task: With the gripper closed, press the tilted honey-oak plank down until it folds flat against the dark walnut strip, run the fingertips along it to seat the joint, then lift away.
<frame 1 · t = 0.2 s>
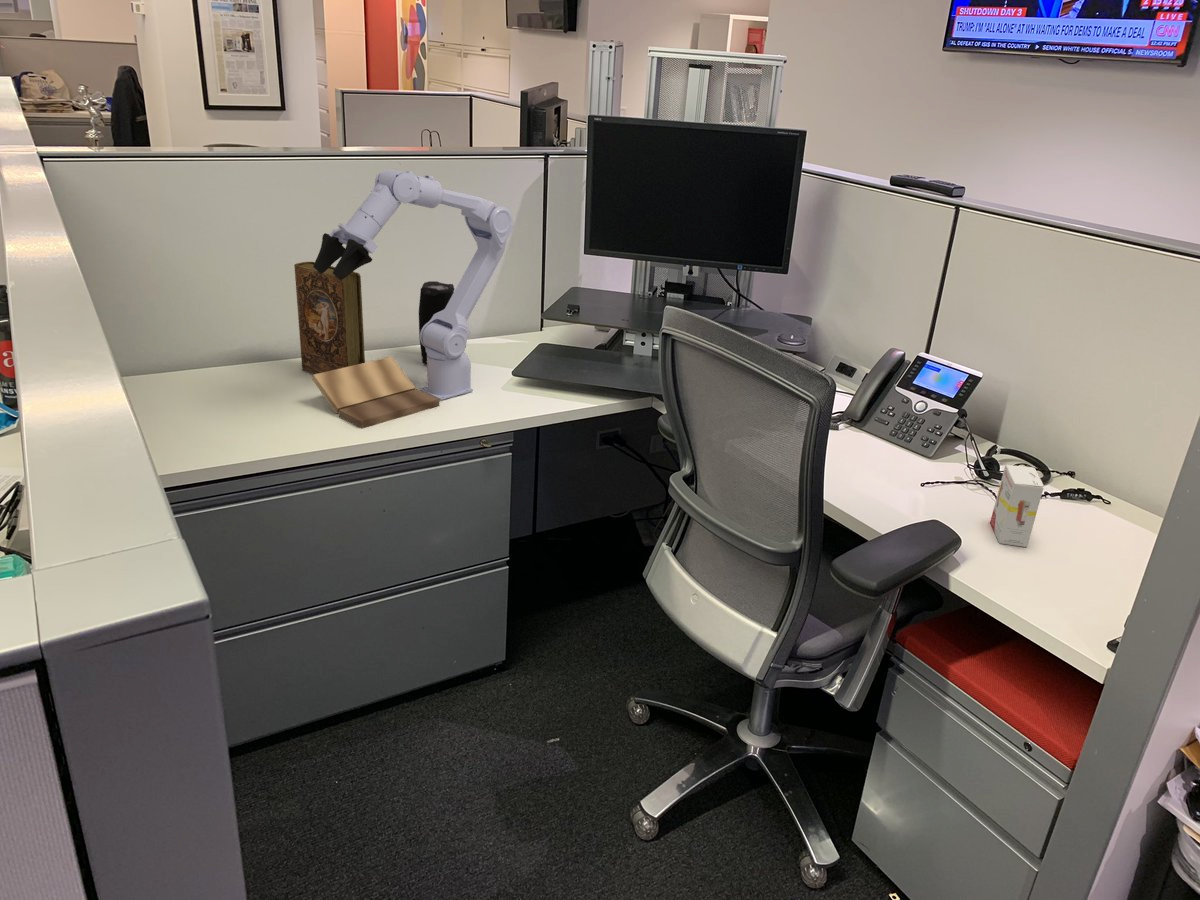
hand: (326, 273, 176), 31 cm above the table, tool tilted 45°, fingers open, 7 cm apart
ink box: (1007, 535, 161), on the table
oak plank: (365, 383, 198), point 4 cm above the table, hinge at 30.0°
portable speaker: (438, 363, 225), on the table
walnut strip: (390, 411, 194), on the table
book: (332, 375, 213), on the table
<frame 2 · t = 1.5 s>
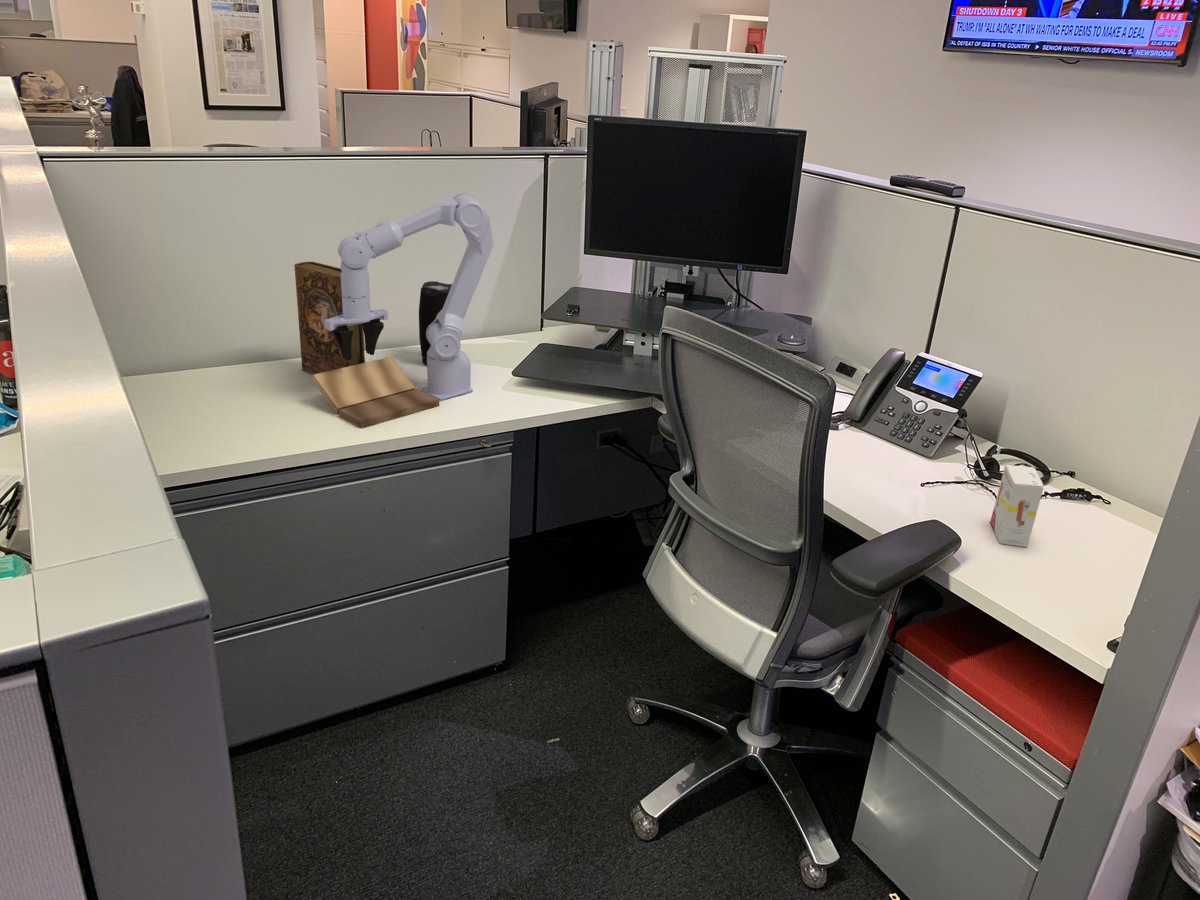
hand: (358, 356, 197), 9 cm above the table, tool pointing down, fingers open, 5 cm apart
nothing on the table moved.
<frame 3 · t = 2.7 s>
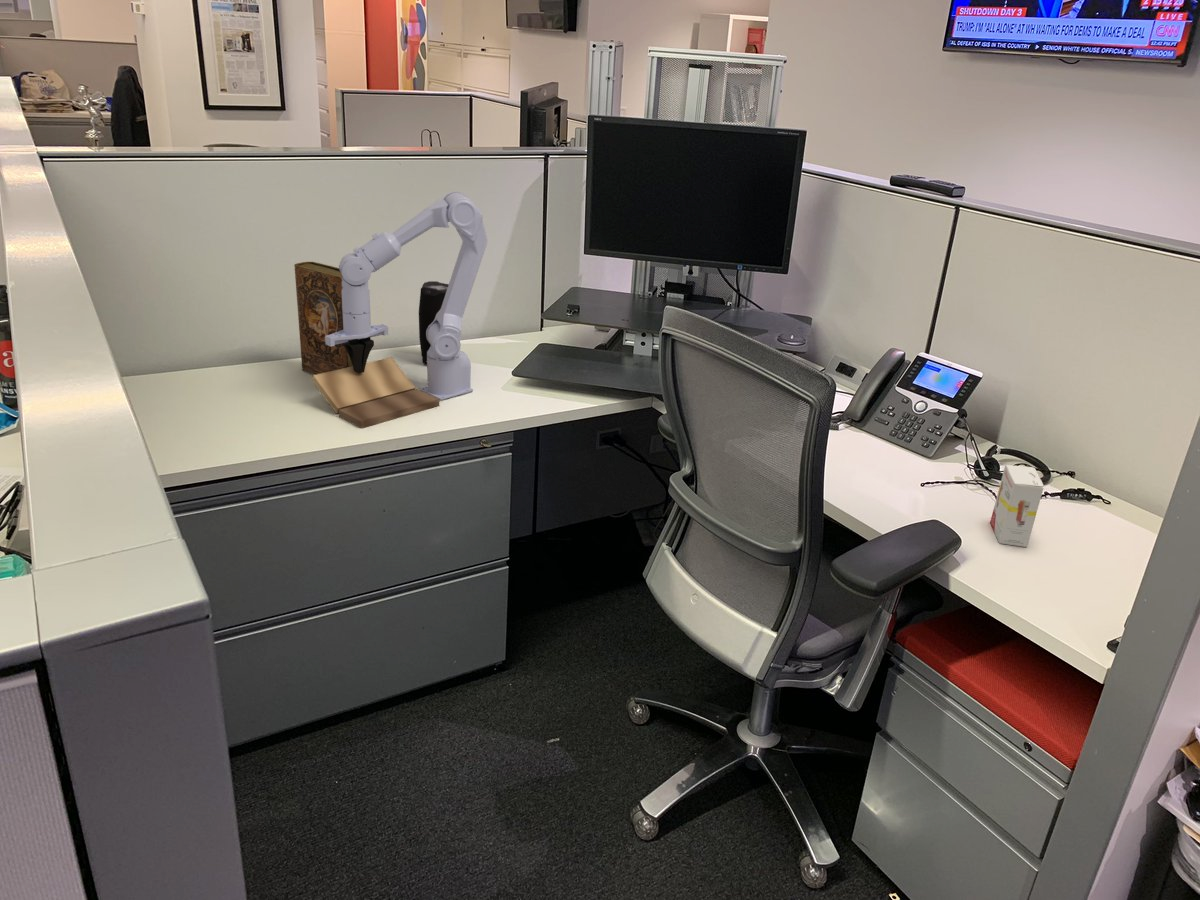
hand: (359, 371, 199), 6 cm above the table, tool pointing down, fingers closed, pressing on oak plank
oak plank: (365, 384, 198), point 4 cm above the table, hinge at 28.8°, touching gripper
everything else where it was.
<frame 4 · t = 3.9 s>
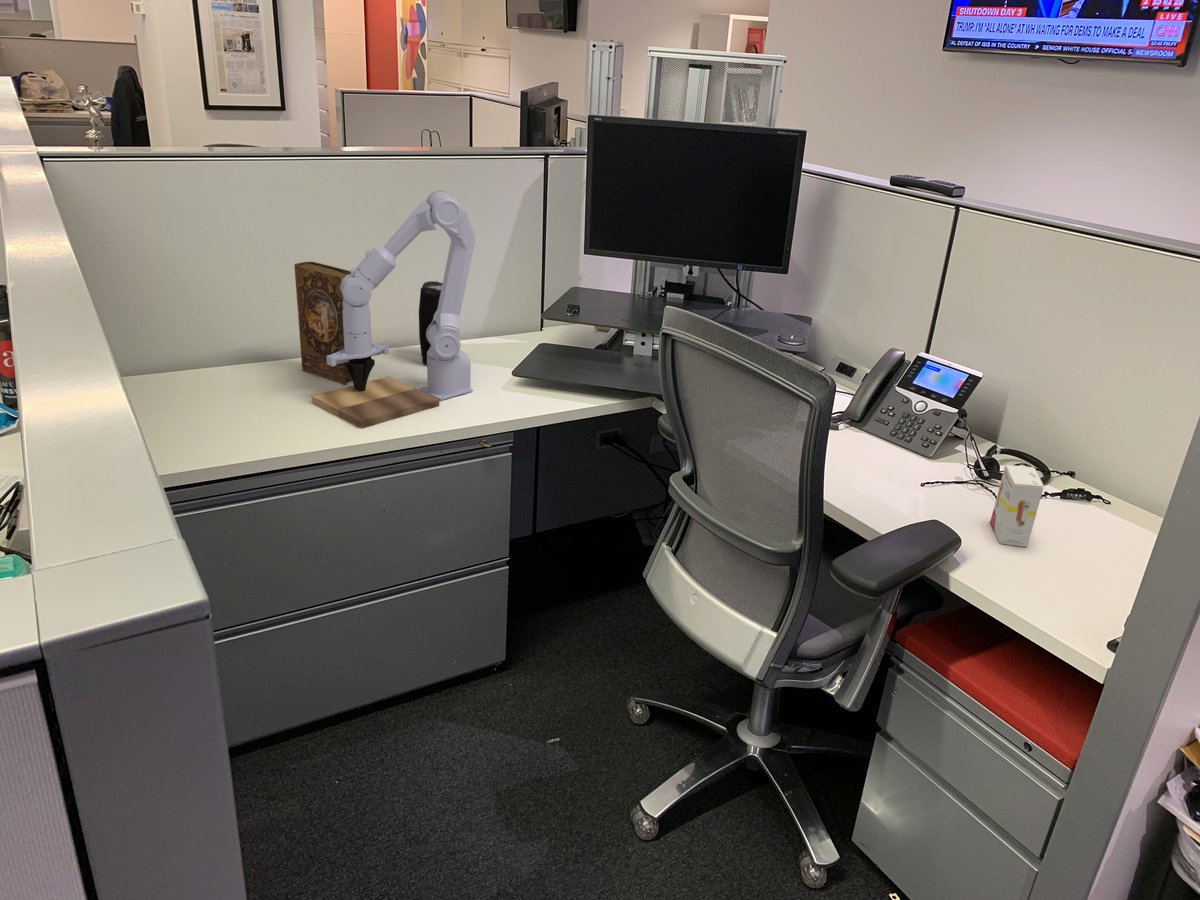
hand: (360, 390, 200), 2 cm above the table, tool pointing down, fingers closed, pressing on oak plank
oak plank: (364, 395, 200), point 1 cm above the table, hinge at 0.2°, touching gripper
everything else where it was.
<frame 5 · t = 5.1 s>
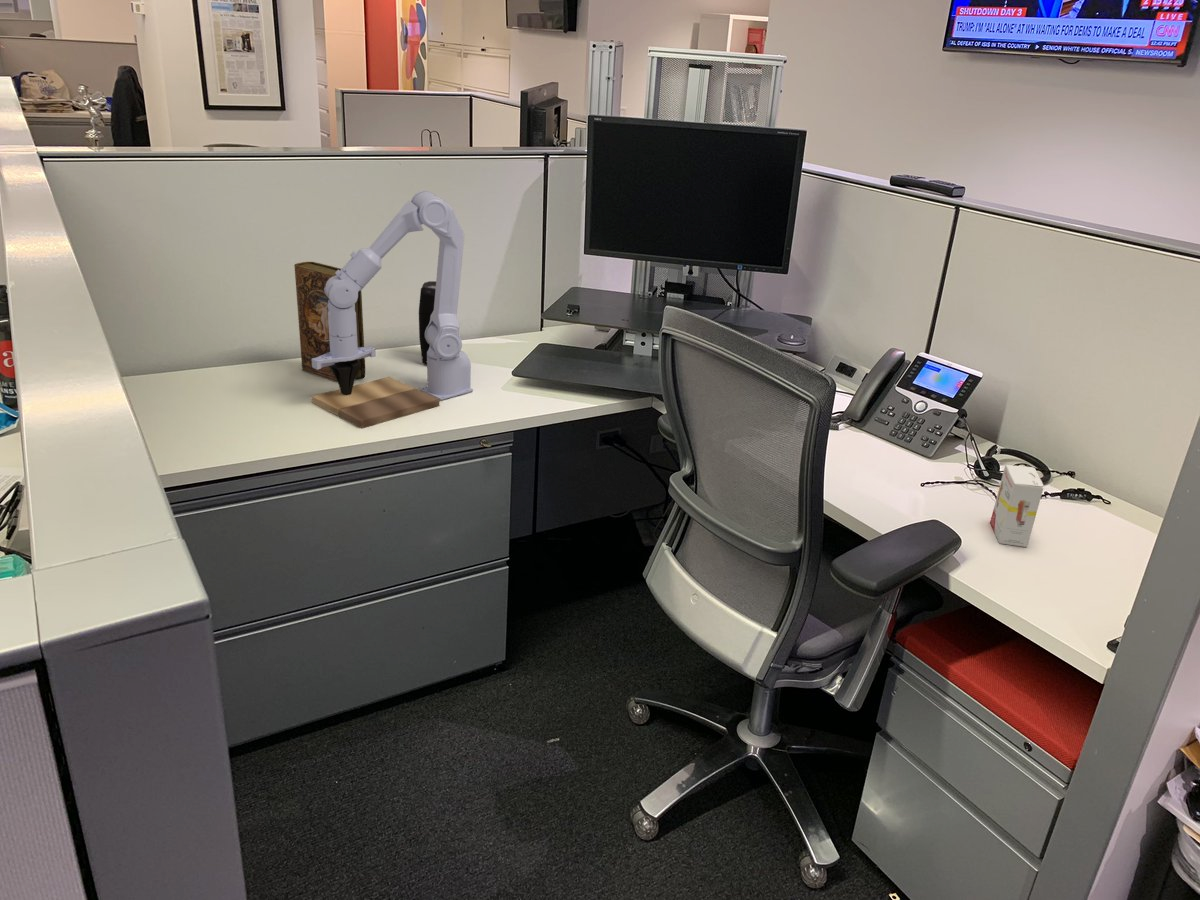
hand: (346, 393, 198), 2 cm above the table, tool pointing down, fingers closed
oak plank: (364, 395, 200), point 1 cm above the table, hinge at -0.4°
everything else where it was.
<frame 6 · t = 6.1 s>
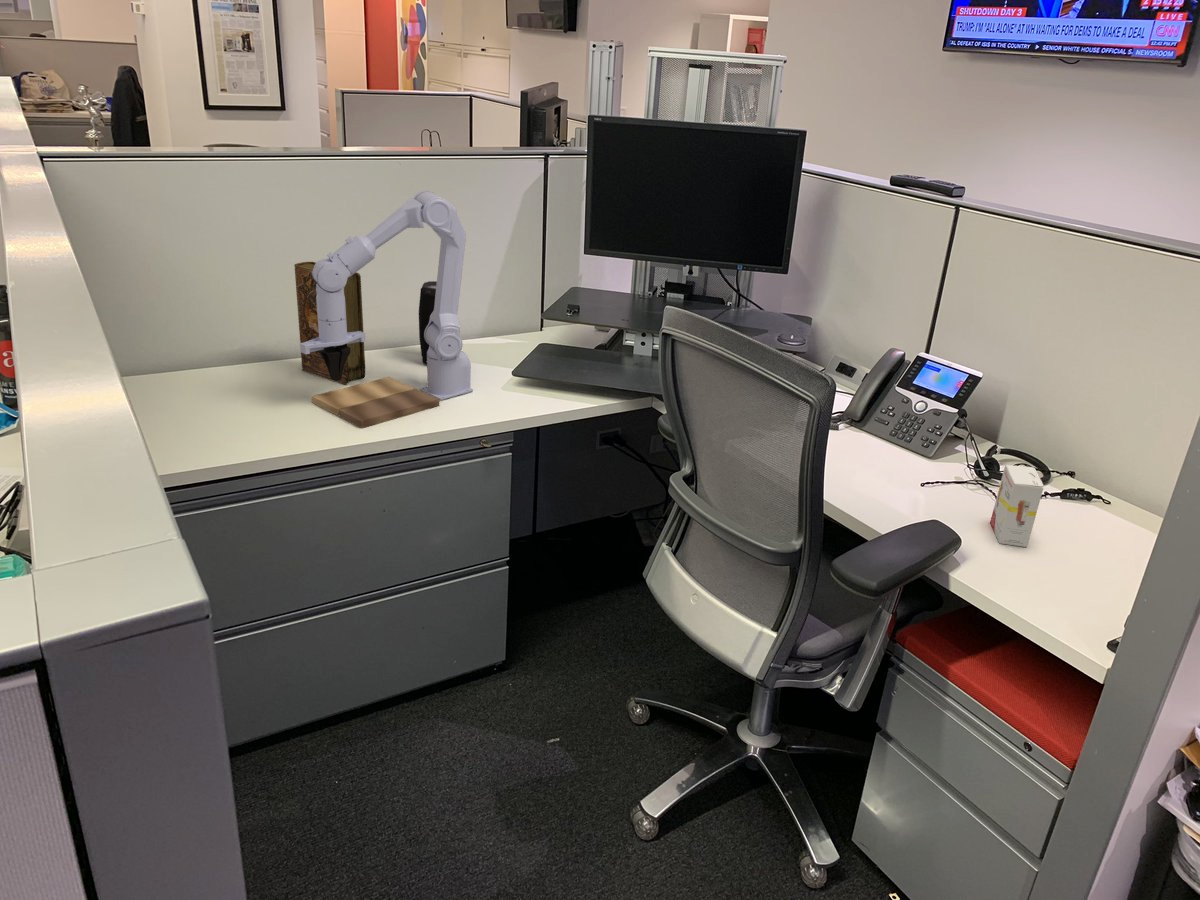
hand: (336, 379, 195), 5 cm above the table, tool pointing down, fingers closed
nothing on the table moved.
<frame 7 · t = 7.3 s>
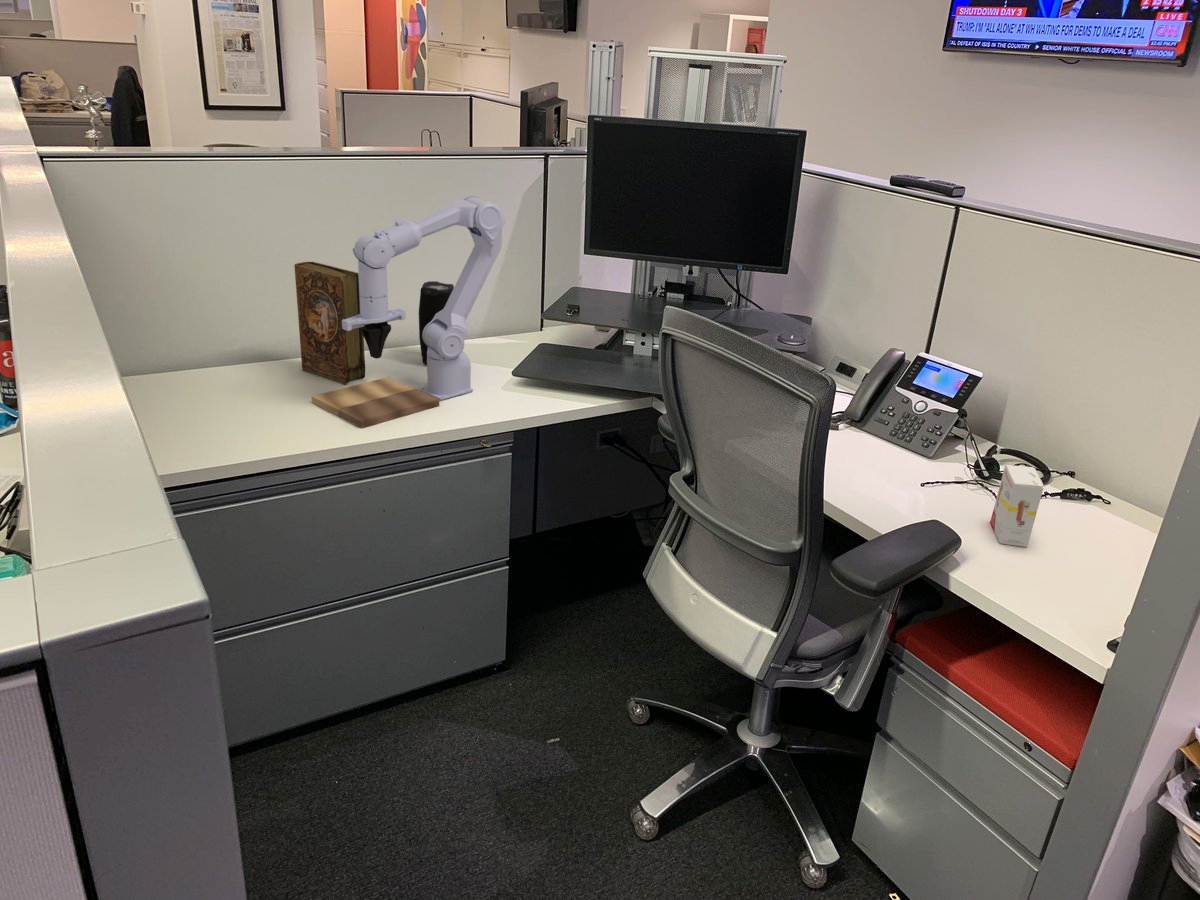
hand: (375, 357, 195), 10 cm above the table, tool pointing down, fingers closed
nothing on the table moved.
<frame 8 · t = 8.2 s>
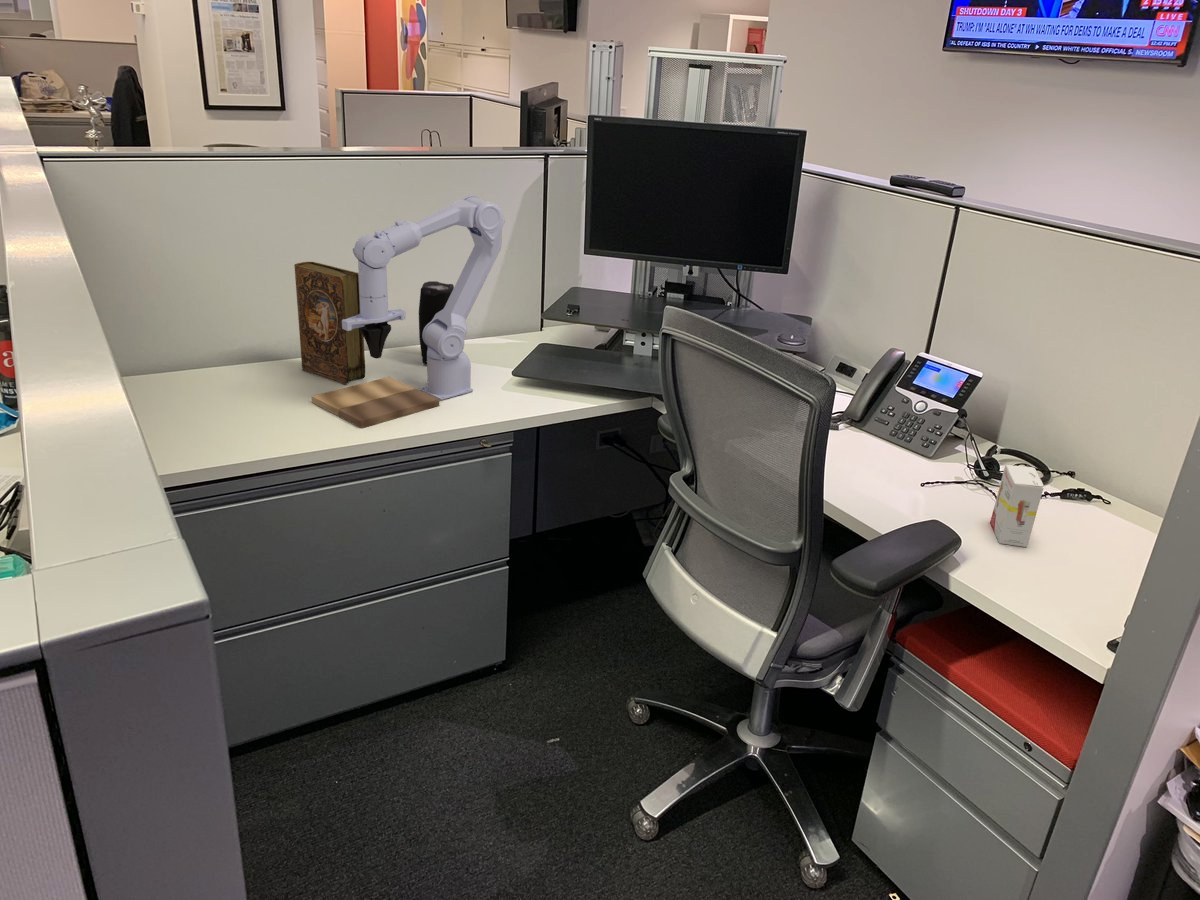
hand: (375, 357, 195), 10 cm above the table, tool pointing down, fingers closed
nothing on the table moved.
at the end: oak plank at +0° (first picture: +30°); book moved 0.2 cm from its start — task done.
